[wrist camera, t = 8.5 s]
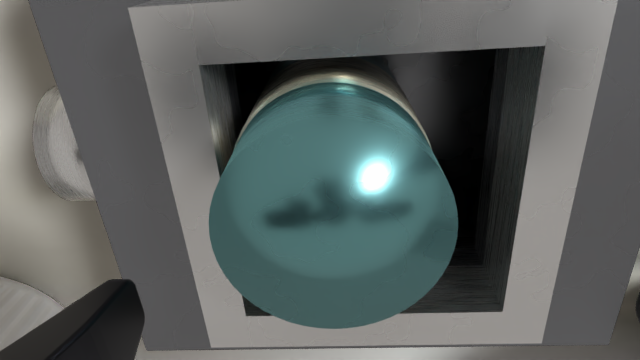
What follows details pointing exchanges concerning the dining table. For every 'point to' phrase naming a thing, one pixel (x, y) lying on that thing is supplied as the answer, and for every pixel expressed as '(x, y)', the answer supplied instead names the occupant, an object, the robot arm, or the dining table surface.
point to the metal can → (333, 198)
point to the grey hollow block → (431, 110)
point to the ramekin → (22, 310)
